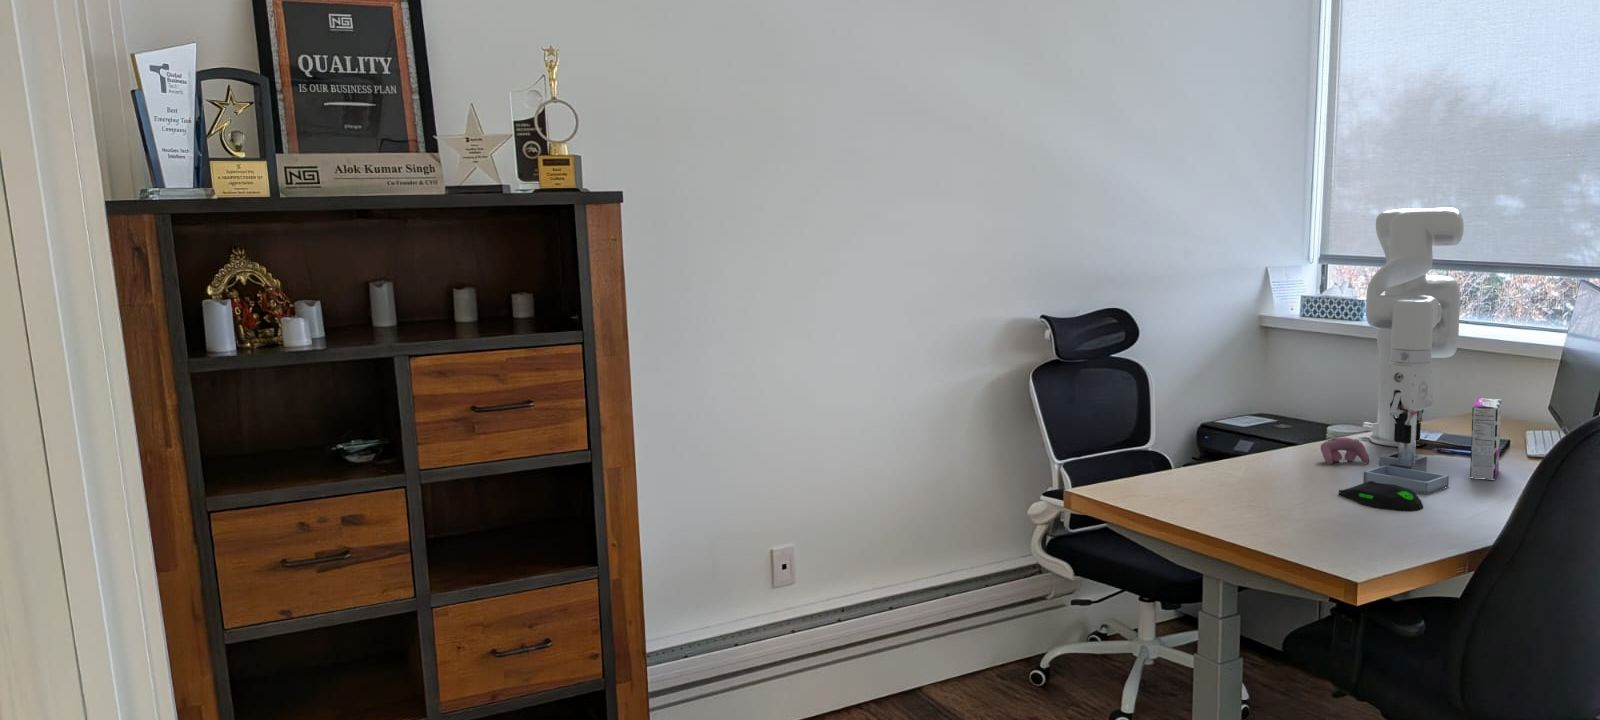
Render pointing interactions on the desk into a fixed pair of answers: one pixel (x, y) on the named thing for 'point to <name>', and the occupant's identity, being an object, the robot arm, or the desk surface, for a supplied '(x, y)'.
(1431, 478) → the tray
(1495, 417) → the candy bar box
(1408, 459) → the pin
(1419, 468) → the block
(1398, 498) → the computer mouse
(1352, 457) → the video game controller
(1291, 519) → the desk surface
